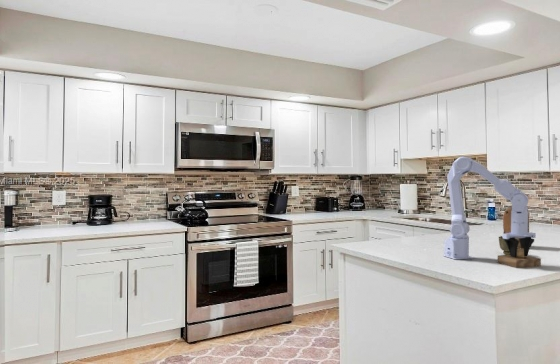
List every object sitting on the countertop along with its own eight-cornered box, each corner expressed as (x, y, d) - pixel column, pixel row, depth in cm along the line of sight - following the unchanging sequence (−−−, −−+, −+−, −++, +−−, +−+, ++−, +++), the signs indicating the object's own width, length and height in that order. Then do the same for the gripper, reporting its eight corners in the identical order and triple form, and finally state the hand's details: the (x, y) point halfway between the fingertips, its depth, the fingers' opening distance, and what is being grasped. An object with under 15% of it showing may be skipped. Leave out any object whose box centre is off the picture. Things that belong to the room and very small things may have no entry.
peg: (519, 265, 150) (519, 249, 150) (511, 263, 154) (511, 247, 153) (526, 265, 151) (526, 248, 151) (518, 263, 155) (518, 247, 155)
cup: (499, 252, 177) (500, 235, 177) (518, 254, 172) (518, 236, 172) (496, 254, 171) (497, 237, 171) (515, 256, 167) (516, 238, 166)
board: (516, 267, 146) (516, 260, 146) (497, 262, 155) (497, 255, 155) (540, 266, 150) (540, 258, 149) (520, 261, 158) (521, 254, 158)
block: (530, 247, 188) (531, 207, 188) (520, 249, 185) (521, 208, 185) (509, 244, 198) (510, 206, 198) (500, 245, 195) (500, 206, 194)
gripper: (513, 224, 146) (512, 259, 147) (542, 223, 150) (542, 257, 150) (498, 222, 153) (498, 255, 153) (527, 221, 157) (526, 253, 157)
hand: (518, 256), depth 152 cm, fingers open, 5 cm apart
